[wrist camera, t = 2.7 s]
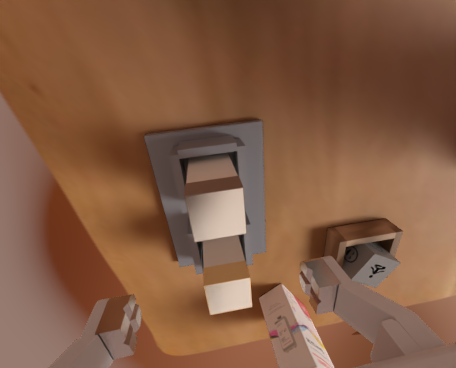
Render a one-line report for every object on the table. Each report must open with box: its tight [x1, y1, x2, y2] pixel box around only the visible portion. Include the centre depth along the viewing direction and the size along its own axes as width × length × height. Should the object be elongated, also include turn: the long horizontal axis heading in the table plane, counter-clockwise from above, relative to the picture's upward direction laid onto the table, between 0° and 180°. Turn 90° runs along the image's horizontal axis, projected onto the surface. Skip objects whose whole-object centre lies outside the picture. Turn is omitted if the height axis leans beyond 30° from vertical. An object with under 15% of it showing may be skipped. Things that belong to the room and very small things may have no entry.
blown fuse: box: [184, 152, 247, 243], centre depth 20 cm, size 4×4×9 cm
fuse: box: [203, 235, 252, 315], centre depth 24 cm, size 4×4×9 cm
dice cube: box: [342, 241, 400, 288], centre depth 31 cm, size 5×5×5 cm
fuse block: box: [144, 120, 266, 274], centre depth 25 cm, size 12×18×4 cm, turn 6°
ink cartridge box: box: [259, 284, 334, 368], centre depth 31 cm, size 9×5×15 cm, turn 38°
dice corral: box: [324, 218, 403, 282], centre depth 32 cm, size 9×9×3 cm
